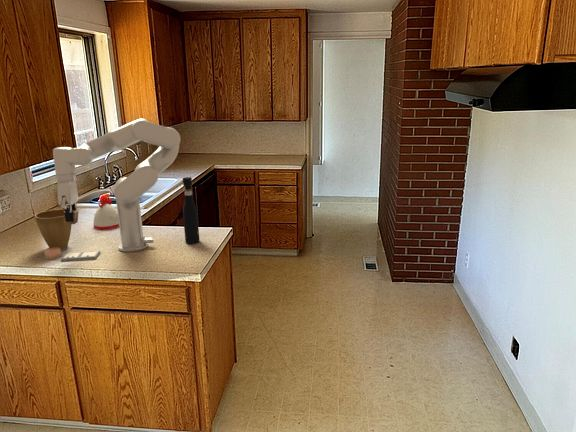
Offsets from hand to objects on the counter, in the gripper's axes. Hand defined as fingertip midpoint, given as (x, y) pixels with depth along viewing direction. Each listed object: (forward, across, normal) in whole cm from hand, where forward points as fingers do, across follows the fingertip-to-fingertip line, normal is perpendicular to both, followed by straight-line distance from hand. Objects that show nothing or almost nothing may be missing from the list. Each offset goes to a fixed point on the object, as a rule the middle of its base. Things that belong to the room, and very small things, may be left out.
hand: (71, 219), depth 192 cm
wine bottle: (+15, -9, +49) cm, 52 cm away
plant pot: (+16, -11, -11) cm, 23 cm away
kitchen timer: (+16, -43, +1) cm, 46 cm away
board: (+16, +4, +3) cm, 16 cm away
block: (+1, 0, 0) cm, 1 cm away
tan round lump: (+16, +2, -9) cm, 18 cm away
